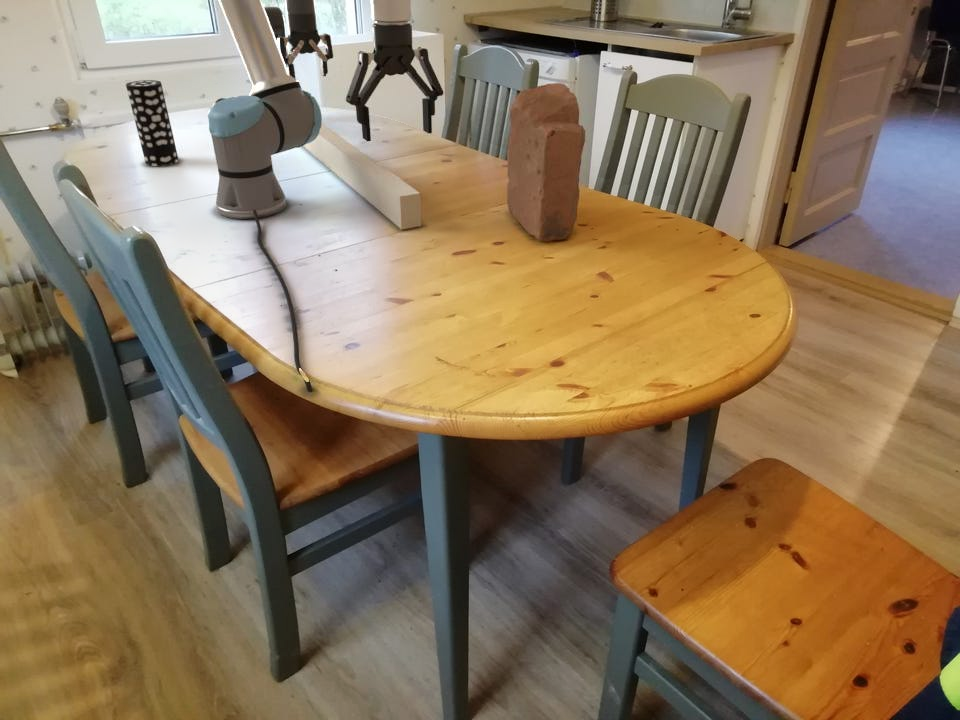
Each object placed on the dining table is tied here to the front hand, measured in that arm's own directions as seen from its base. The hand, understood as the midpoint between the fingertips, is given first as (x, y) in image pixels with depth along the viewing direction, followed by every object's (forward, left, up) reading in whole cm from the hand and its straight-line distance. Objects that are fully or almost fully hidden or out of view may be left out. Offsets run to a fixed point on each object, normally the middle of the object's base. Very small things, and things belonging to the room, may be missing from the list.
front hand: (397, 135), depth 143 cm
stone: (-16, -27, -18) cm, 36 cm away
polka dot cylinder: (+69, +41, -8) cm, 80 cm away
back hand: (+61, 0, +1) cm, 61 cm away
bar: (+31, 0, -18) cm, 36 cm away
